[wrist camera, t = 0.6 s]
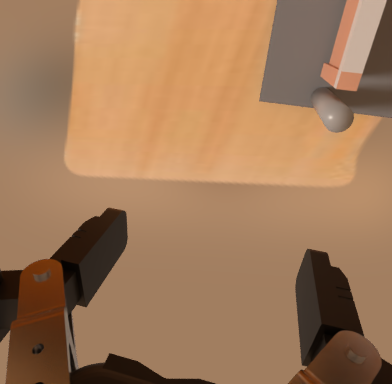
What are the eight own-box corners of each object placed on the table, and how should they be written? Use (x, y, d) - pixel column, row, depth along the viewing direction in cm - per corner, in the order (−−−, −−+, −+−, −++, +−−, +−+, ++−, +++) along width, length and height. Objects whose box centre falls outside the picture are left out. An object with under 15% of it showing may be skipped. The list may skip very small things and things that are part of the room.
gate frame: (301, -135, 23) (320, -237, 14) (506, -135, 21) (672, -254, 12) (259, 99, 32) (255, 122, 23) (400, 117, 30) (453, 150, 21)
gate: (357, -64, 23) (394, -107, 16) (376, -63, 23) (422, -106, 16) (320, 76, 28) (336, 89, 21) (335, 77, 28) (356, 91, 21)
